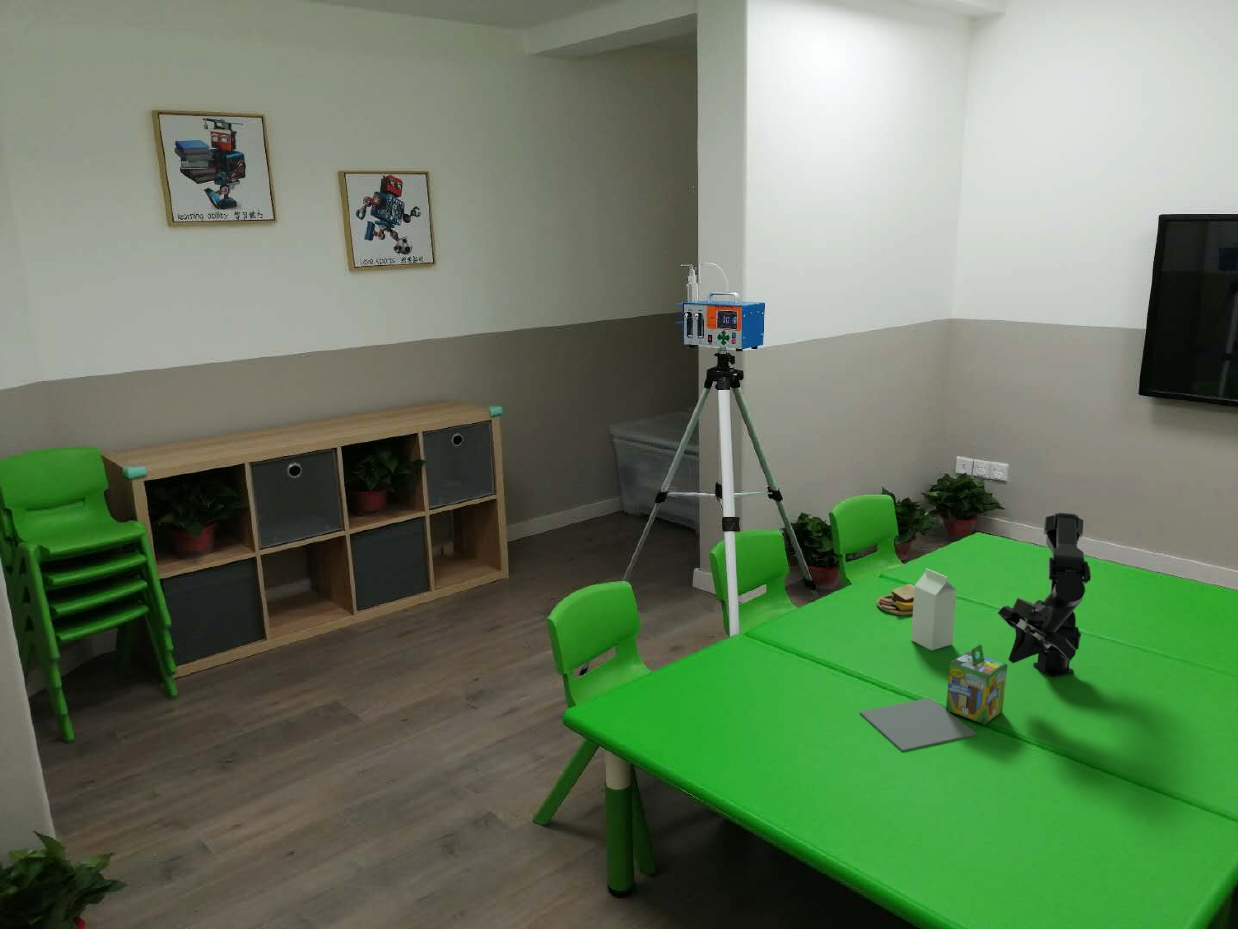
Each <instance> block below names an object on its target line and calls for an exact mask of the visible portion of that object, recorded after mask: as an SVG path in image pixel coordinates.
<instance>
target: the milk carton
mask: <svg viewBox="0 0 1238 929" xmlns="http://www.w3.org/2000/svg"><path fill="white" fill-rule="evenodd" d="M948 578H949V577H948V576H945V575H943V574H941V573H939V572H936V571H934V570H931V569H929V568H925V572H924V573H923V574H922V576H921V577H920V578H919V580H918V581H917V582H916V584H915V588H914V604H913V614H912V622H911V623H912V624H911V639H910V640H911V641H912V642H914V643H916V644H918V645H920V646H921V647H924V648H925V649H927V650H929V651H932V652H933V651H935V650H938V649H941V648H945V647H948V646H951V645H953V643H954V642H953V641H954V640H953V639H954V630H955V628H954V627H955V616H956V613H955V612H956V602H957V599H956V598H957V589H956V588H955V587H954V586H953V585H952V584H951V583H950V582H949V581H948Z"/></svg>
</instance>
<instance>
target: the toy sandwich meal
mask: <svg viewBox="0 0 1238 929" xmlns="http://www.w3.org/2000/svg"><path fill="white" fill-rule="evenodd" d="M915 585H916V584H915ZM915 585H914V584H911V583H907V584H906V585H905V584H904V586H903V585H902V586H900V587H896V588H894V589H892V590H891V592H890V593H891V594H887V595H883V596H880V597H879V598H878V599H877V600H876V605H877V606H878V607H879V608H880V609H881V610H882V611H884V612H886V613H889V614H892V615H899V616H910V615H913V604H914V588H915Z"/></svg>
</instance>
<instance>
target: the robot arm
mask: <svg viewBox="0 0 1238 929" xmlns="http://www.w3.org/2000/svg"><path fill="white" fill-rule="evenodd" d="M1043 535H1045V537H1046V538H1045V541H1046V542H1045V544H1046V546H1047V547H1048V548H1049V550H1050V552H1051V557H1048V563H1047V564H1048V566H1047V576H1048V580H1050V593H1049V594H1048V595H1047V597H1046V598H1044V600H1041V599H1038V600H1036V602H1034V603H1032V602H1030V601H1028V600H1025V599H1022V598H1020V597H1017V598H1016V600H1015V603H1014V605H1013V607H1010V606H1009V605H1005V606H1002V608H1000V609H999V611H998V612H997V615H998V616H1000V618H1002V619H1003V621H1004V622H1005V623H1006V624H1007V625H1008V626H1009V627H1011V628H1012V629H1014V630H1015V639H1014V641H1013V642H1014V643H1013V646H1012V648H1011V651H1010V654H1009V657H1008V661H1009V662H1010V663H1012V664H1015V663H1018V662H1021V661H1022V660H1025V659H1027V658H1028V659H1029V657H1032V656H1036V655H1037V662H1033V664H1032V666H1033V667H1035V668H1036V669H1038V670H1039V671H1041V672H1043V673H1044V674H1046V675H1048V676H1050V677H1059V676H1063V675H1064V676H1065V675H1068V674H1070V675H1071V674H1073V673H1074V672H1075V670H1074V669H1072V668H1071V667H1070V661H1071V660H1073V658H1075V656H1076V652H1077V651H1078V650H1079V649H1080V648H1079V647H1080V641H1081V636H1082V633H1081V632H1080V630H1079V626H1076V623H1077V622H1076V614H1075V612H1074V610H1075V609H1077V607H1078V606H1079V605H1080V603H1081V602H1082V601H1083V598H1084V596H1085V593H1086V587H1085V584H1086V585H1087V584H1088V583H1089V582H1091V577H1092V576H1091V575H1092V574H1091V568H1090V567H1091V566H1090V565H1089V563H1088V561H1087V560H1085V553H1084V551H1082V550H1081V549H1080V548H1078V544H1079V540H1080V538H1082V537H1083V535H1084V519H1083V518H1080V517H1079V515H1076V514H1075V513H1065V512H1057V513H1054V514H1053V515H1049V516H1045V519H1044V523H1043Z"/></svg>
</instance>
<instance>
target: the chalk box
mask: <svg viewBox="0 0 1238 929" xmlns="http://www.w3.org/2000/svg"><path fill="white" fill-rule="evenodd" d="M977 652H978V653H979V654H978V653H977ZM1007 672H1008V663H1005V662H1002V661H1000V660H999V661H998V660H996V659H994V658H993V657H989V656H986V655H984V651H983V646H982V644H978V645H976V646H974V648H972V649H971V650H970V651H966V652H965V653H963V654H962V655H960V656H958V657H956V658H954V659H953V660H951V661H950V662H949V672H948V683H947V692H946V693H947V695H946V707H945V709H946V710H947V711H948V712H950V713H951V714H956V715H958V716H961V717H963V718H967V719H969V720H971V721H974V722H976V723H977V722H978V723H980V724H981V725H986V724H988V722H990V721H991V720H993V719H994V718H996V717H997V716H998V715H999V714H1001V713H1003V707H1004V700H1005V693H1006V692H1005V690H1006V682H1007Z"/></svg>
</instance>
